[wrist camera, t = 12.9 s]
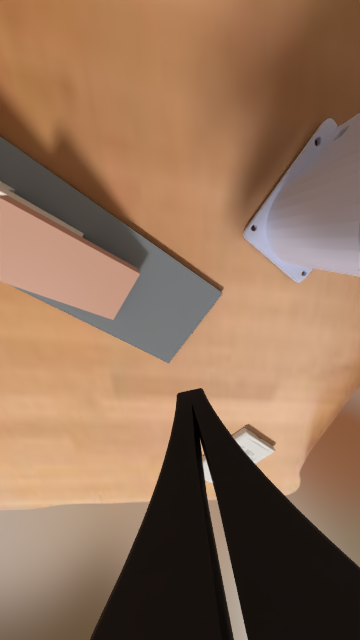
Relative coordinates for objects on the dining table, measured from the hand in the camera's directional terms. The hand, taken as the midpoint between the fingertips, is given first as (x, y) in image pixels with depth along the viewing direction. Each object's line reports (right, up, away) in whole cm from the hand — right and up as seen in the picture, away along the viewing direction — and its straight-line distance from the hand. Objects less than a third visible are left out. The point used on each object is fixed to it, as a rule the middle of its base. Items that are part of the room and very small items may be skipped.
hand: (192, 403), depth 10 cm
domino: (-6, +7, +7) cm, 11 cm away
